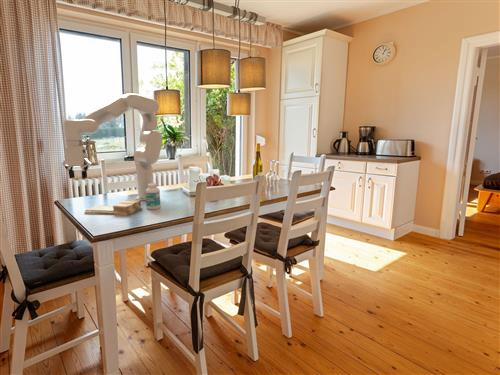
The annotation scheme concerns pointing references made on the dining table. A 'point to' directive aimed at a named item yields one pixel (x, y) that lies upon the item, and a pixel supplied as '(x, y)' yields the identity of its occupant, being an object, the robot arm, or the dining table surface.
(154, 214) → the dining table surface
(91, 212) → the overhang cubby
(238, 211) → the dining table surface
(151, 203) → the pill bottle
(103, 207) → the cover
